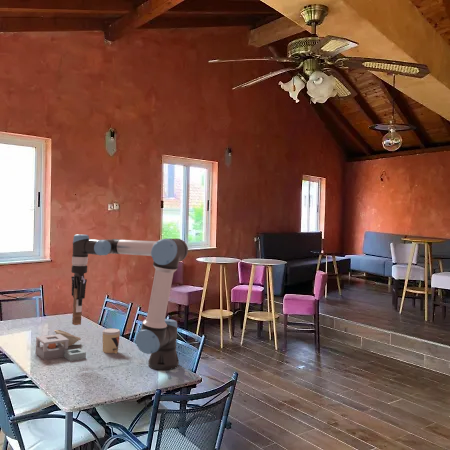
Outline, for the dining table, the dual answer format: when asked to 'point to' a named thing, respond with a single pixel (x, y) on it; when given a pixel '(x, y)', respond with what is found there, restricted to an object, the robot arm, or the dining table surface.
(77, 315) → the brown wooden bar
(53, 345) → the button
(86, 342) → the dining table surface
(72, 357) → the holder
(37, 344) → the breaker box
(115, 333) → the coffee cup
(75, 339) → the bowl
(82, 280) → the robot arm
